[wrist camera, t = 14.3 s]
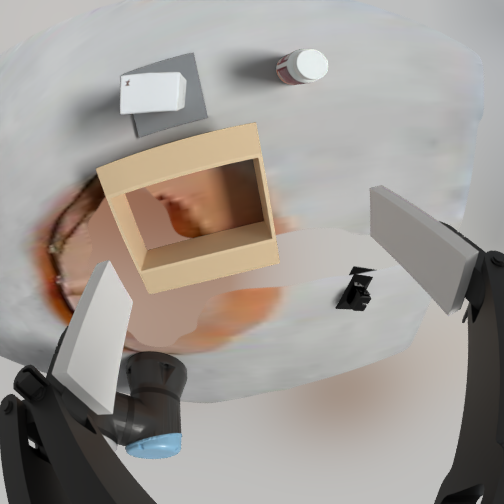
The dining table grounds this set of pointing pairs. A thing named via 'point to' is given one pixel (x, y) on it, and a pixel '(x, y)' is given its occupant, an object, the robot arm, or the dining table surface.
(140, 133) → the coaster
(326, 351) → the dining table surface
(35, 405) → the robot arm
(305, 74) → the pill bottle
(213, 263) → the carton
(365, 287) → the black boxy piece
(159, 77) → the skincare box
